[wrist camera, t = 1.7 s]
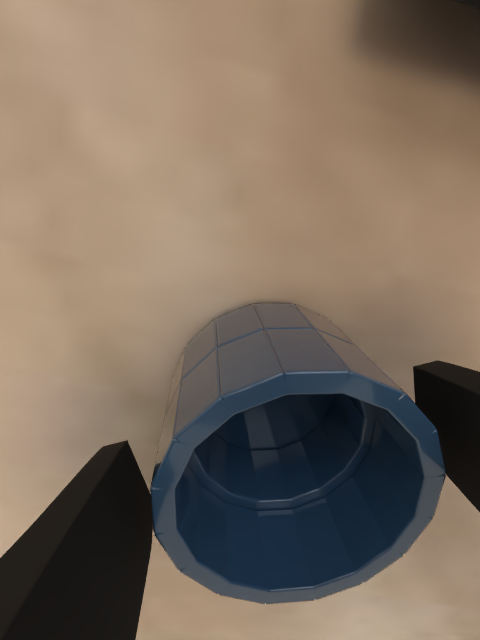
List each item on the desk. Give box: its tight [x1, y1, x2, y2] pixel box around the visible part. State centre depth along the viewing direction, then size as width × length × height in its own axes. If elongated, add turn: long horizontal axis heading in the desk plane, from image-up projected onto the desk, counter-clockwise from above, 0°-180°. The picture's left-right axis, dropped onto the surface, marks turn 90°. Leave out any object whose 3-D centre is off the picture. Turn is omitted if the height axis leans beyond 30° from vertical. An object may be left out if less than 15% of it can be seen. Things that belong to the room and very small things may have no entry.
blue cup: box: [150, 303, 446, 604], centre depth 9 cm, size 6×6×5 cm
